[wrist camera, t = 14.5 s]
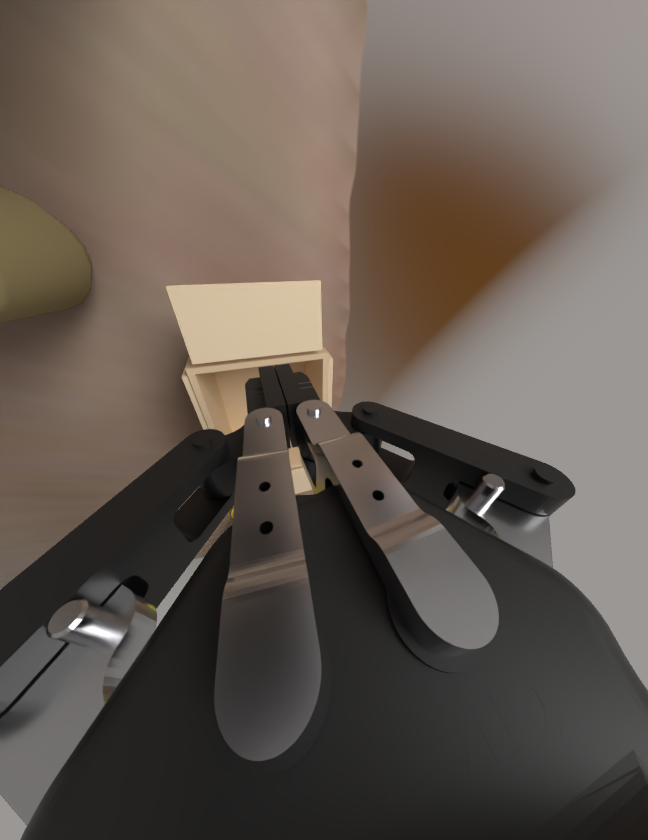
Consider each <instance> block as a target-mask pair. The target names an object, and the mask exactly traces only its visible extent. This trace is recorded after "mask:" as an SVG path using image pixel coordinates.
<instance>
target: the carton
mask: <svg viewBox="0 0 648 840" xmlns="http://www.w3.org/2000/svg"><path fill="white" fill-rule="evenodd" d="M288 363H289V364H290V367H291V369H292V371H293V373H295V372H302V373H304V374H305V375H307V376H308V378H309V380H310V382H311V383H312V385H313V387H314V389H315V391H316V393H317V394H318V396H319V398H320V400H321V401H324V402H326V403H328V404H329V405H330V406H331V403H332V374H333V358H332V357H331V356H330V354H329V353H328V351H327V350H326V349H325V348H324V347H323V346H322V350H317V351H308V352H300V353H291V354H282V355H273V356H264V357H255V358H246V359H237V360H228V361H219V362H210V363H201V364H192V362H191V359H190V356H189V358H188V360H187V363H186V366H185V369H184V372H183V375H182V379H183V382H184V384H185V387H186V389H187V391H188V394H189V396H190V399H191V401H192V403H193V406H194V408H195V411H196V413H197V415H198V418H199V420H200V423H201V425H202V427H203V430H205V429H216V430H219V431H221V432H222V433H223V434H224V435H227V434H229V433H232V432H234V431H236V430H238V429H240V428H241V427H242V426H243V425H244V422H245V418H246V416H247V415H248V412H247V402H246V391H245V384H246V382H247V381H248V379H250V378H258V377H260V375H259V369H258V367H264V366H272V365H273V366H274V365H280V364H288ZM290 444H291V441H290ZM288 450H289V459H290V465H291V469H292V468H296V467H300V466H303V465H302V463H301V460H300V451H299V448H298V447H293V448H292V445H291V448H289V449H288Z"/></svg>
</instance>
